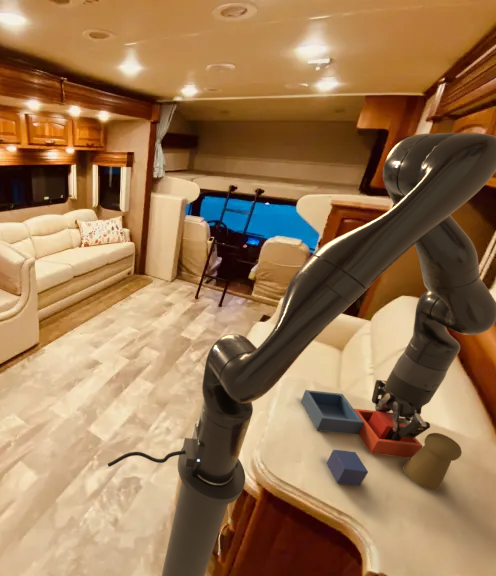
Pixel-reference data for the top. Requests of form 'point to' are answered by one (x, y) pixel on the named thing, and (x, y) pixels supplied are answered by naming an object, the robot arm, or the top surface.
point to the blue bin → (331, 412)
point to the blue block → (346, 467)
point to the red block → (381, 423)
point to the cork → (432, 461)
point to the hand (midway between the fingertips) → (383, 431)
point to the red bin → (383, 446)
